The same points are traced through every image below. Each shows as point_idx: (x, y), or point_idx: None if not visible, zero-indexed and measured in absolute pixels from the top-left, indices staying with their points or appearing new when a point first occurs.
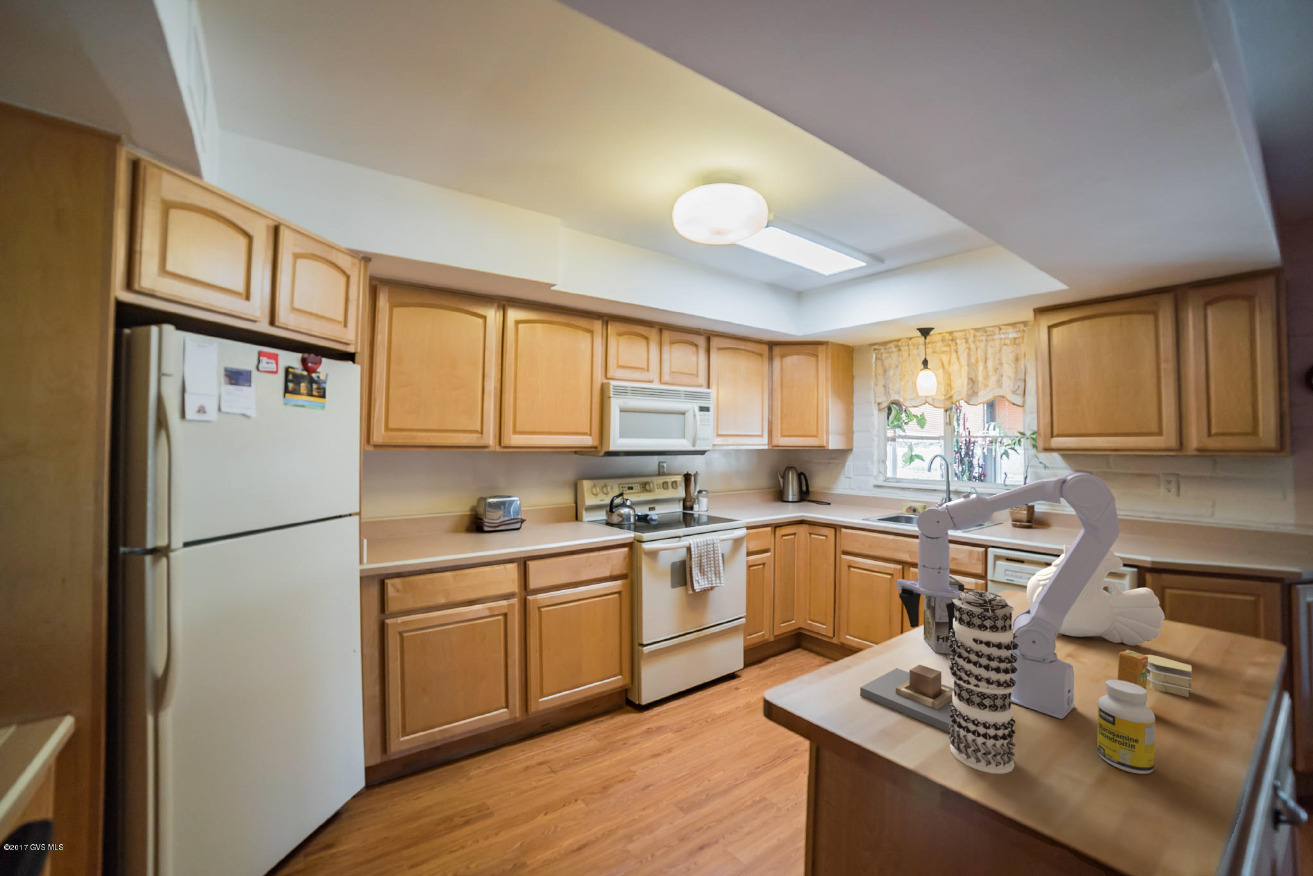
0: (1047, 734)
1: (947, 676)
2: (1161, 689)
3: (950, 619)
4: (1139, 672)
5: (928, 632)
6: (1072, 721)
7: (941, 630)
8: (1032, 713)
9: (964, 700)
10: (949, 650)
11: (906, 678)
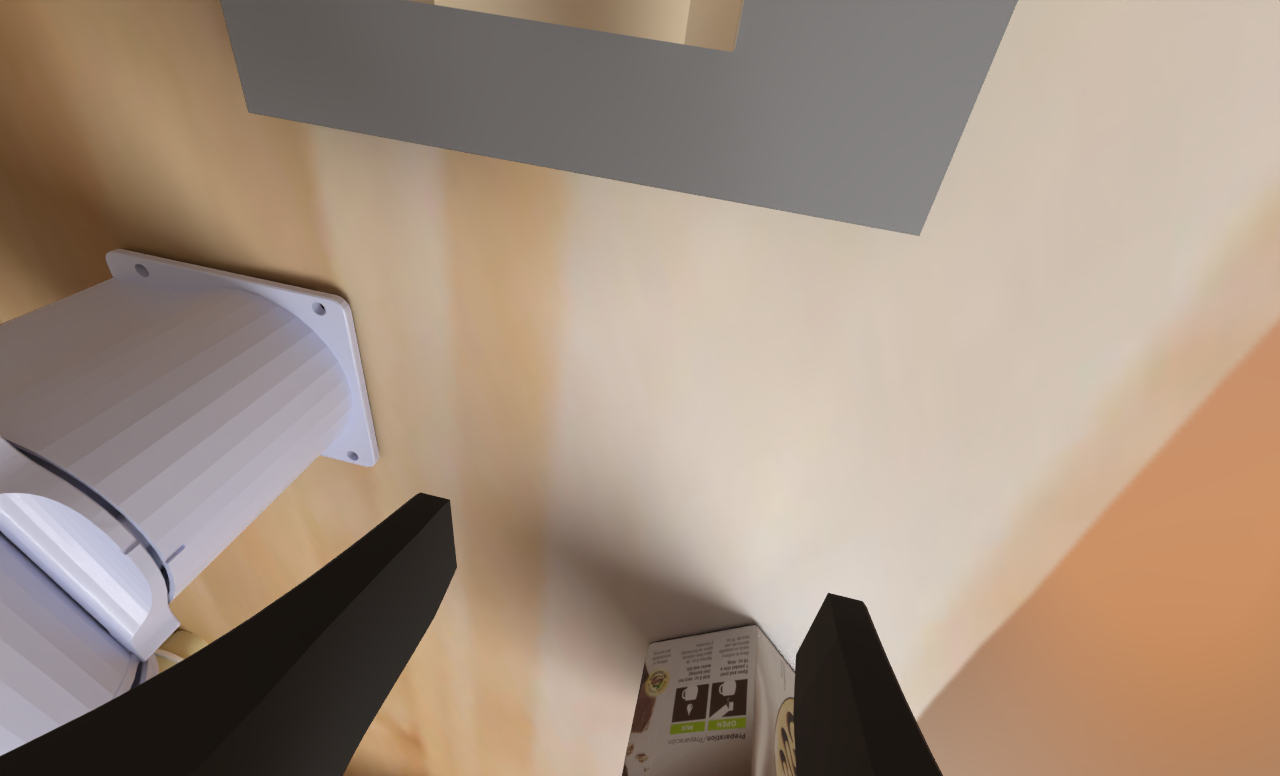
0: (24, 13)
1: (631, 404)
2: (176, 635)
3: (244, 680)
4: None
5: None
6: (103, 269)
7: (721, 747)
8: (204, 232)
9: None
10: (696, 649)
11: (810, 65)
